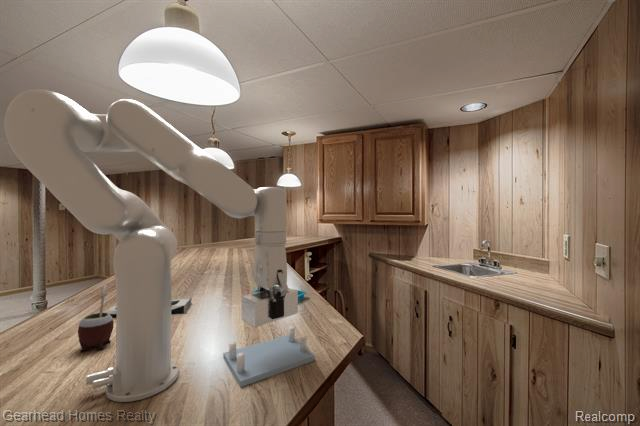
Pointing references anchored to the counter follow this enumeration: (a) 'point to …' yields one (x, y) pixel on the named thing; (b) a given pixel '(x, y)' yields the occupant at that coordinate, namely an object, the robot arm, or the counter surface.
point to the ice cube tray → (300, 293)
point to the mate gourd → (95, 329)
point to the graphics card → (176, 307)
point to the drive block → (266, 307)
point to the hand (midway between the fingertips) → (270, 312)
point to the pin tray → (267, 358)
